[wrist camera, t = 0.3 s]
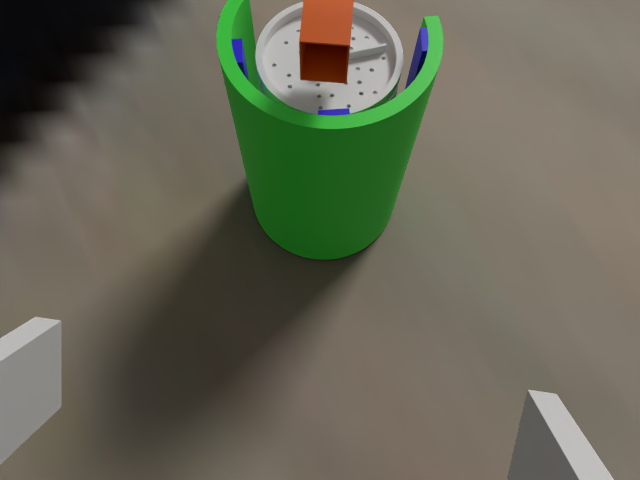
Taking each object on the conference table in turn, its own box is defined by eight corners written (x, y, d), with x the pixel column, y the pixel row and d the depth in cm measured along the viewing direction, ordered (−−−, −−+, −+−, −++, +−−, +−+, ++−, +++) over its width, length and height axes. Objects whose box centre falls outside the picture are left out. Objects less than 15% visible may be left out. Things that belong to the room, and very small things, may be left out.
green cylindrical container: (385, 142, 36) (450, -123, 19) (403, 254, 33) (497, 55, 16) (250, 152, 36) (196, -112, 19) (255, 266, 33) (197, 73, 16)
